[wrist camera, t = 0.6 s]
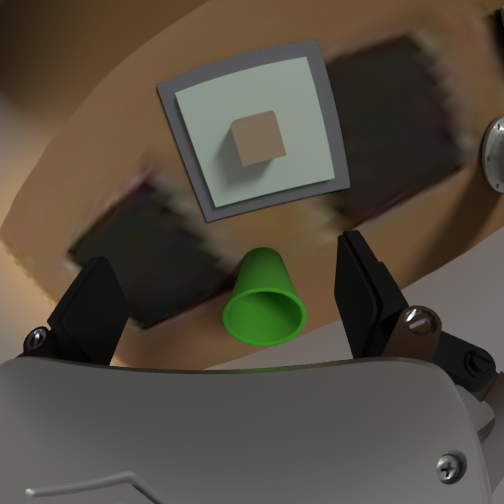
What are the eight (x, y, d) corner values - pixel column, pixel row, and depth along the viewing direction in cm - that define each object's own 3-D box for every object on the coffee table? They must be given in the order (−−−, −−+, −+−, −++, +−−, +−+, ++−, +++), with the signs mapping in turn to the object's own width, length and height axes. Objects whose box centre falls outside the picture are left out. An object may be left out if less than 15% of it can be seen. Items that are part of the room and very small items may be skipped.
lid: (304, 58, 23) (316, 49, 18) (332, 175, 30) (347, 193, 25) (177, 92, 25) (159, 93, 20) (217, 203, 33) (209, 227, 27)
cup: (263, 297, 41) (265, 356, 32) (216, 262, 38) (204, 321, 29) (309, 260, 38) (324, 318, 28) (261, 219, 34) (263, 272, 25)
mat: (315, 40, 22) (317, 39, 22) (349, 185, 32) (350, 187, 31) (158, 84, 25) (156, 84, 25) (207, 219, 34) (207, 222, 34)
